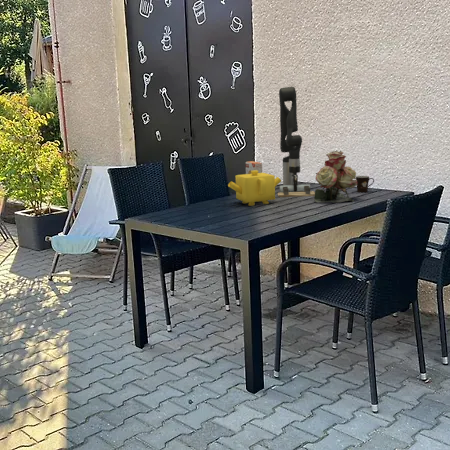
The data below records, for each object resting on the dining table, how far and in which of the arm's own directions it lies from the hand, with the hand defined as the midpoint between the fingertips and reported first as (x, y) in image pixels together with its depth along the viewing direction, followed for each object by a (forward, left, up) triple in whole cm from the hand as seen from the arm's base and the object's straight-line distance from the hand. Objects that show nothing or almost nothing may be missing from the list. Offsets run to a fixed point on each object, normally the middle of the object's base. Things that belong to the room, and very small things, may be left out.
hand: (294, 190), depth 395 cm
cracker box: (-5, -27, -1) cm, 28 cm away
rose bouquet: (+34, +22, -1) cm, 40 cm away
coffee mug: (+9, +45, -1) cm, 46 cm away
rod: (0, 0, +2) cm, 2 cm away
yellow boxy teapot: (+34, -28, -1) cm, 44 cm away
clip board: (+12, 0, -1) cm, 12 cm away
